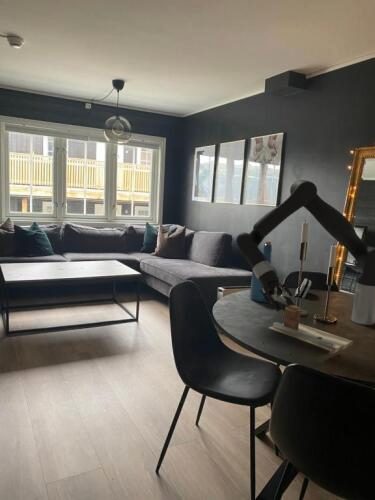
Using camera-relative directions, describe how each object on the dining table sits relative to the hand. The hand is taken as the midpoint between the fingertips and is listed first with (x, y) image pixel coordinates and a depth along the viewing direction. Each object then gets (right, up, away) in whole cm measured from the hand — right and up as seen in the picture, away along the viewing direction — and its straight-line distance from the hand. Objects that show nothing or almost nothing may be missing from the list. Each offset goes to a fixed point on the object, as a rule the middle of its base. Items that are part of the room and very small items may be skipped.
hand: (286, 309), depth 149 cm
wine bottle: (0, -3, +46) cm, 46 cm away
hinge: (+25, -2, +63) cm, 68 cm away
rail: (+4, -9, -8) cm, 13 cm away
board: (+7, -10, -5) cm, 13 cm away
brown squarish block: (+1, -8, -1) cm, 8 cm away
